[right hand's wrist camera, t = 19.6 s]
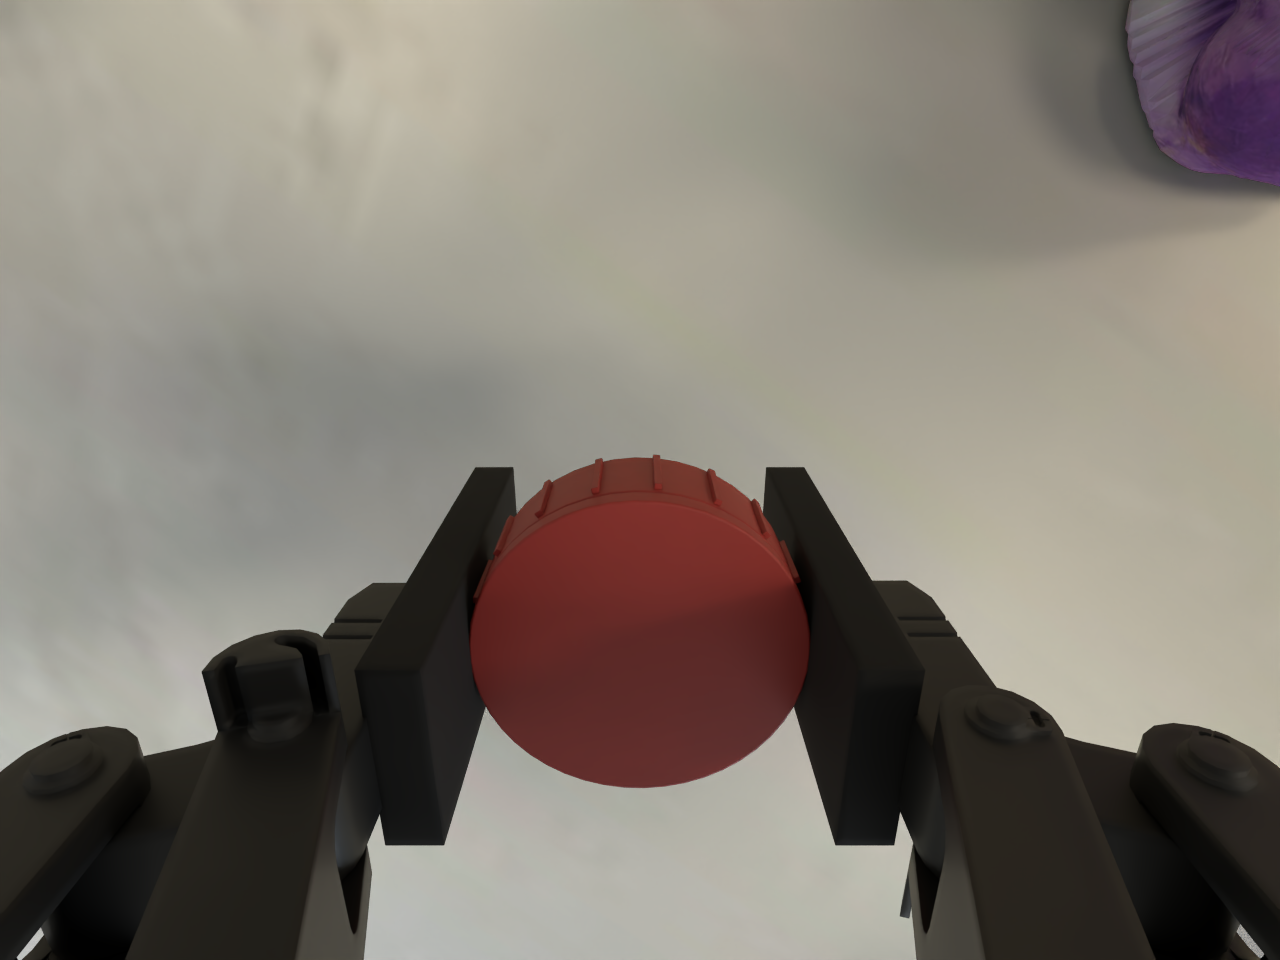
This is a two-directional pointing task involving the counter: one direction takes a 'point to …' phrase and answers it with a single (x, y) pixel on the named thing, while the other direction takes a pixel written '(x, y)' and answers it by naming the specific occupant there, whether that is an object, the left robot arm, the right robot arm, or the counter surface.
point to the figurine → (1210, 82)
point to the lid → (639, 625)
